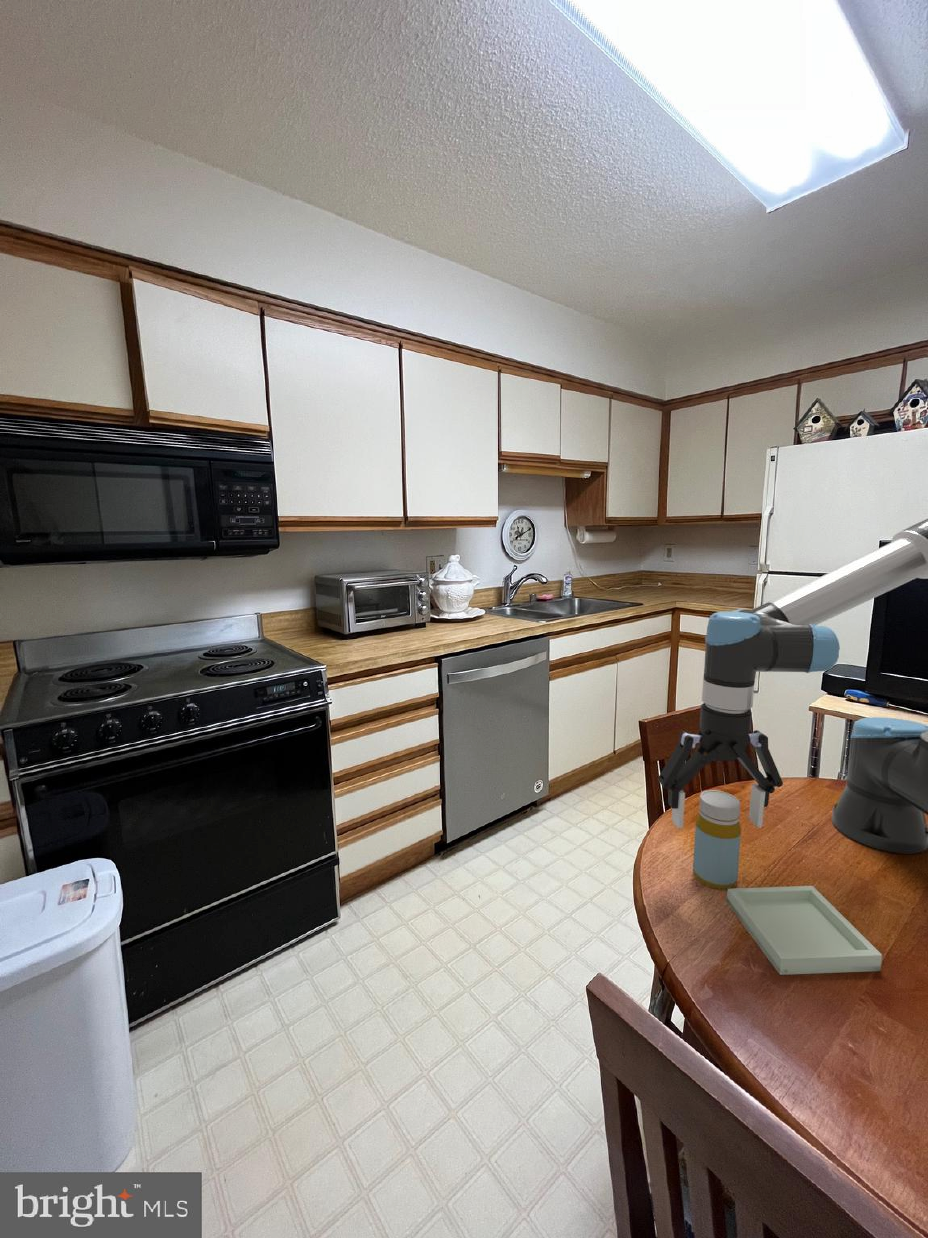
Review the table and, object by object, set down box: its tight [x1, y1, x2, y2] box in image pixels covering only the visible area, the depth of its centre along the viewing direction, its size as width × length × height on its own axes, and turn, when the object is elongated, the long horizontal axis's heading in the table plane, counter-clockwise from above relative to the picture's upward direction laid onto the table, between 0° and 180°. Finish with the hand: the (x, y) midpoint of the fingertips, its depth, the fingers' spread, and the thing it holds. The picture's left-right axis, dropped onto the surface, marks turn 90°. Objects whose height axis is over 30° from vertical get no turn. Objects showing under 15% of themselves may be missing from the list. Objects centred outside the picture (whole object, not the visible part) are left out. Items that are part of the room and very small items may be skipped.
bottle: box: [692, 789, 742, 891], centre depth 89 cm, size 7×7×15 cm
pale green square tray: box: [726, 885, 883, 976], centre depth 78 cm, size 14×14×2 cm
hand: (716, 824), depth 89 cm, fingers open, 13 cm apart
